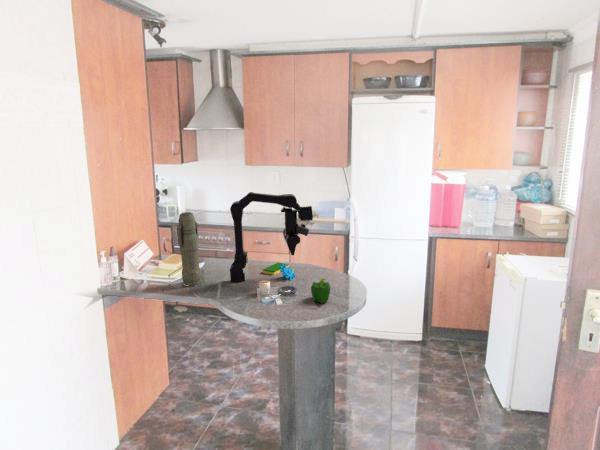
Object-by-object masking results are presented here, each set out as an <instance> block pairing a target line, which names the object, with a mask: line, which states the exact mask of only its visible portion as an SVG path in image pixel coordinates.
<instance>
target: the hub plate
mask: <svg viewBox="0 0 600 450" xmlns="http://www.w3.org/2000/svg"><path fill="white" fill-rule="evenodd" d="M288 290H291V291H290V292H285V291H288ZM256 294H257V295H256V297H257V301H259V300H260V301H261V300H262V301H263V300H264V299H263V298H265V297H271V296H273V295H279V294H281V295H280V296H279V297H277V298H272V299H287V298H288V299H289V298H298V297H300V294H299V292H298V288H297V286H296V285H282V286H270V294H269V295H260V291H259V287H257V288H256ZM272 299H271V300H272Z"/></svg>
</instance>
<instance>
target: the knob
mask: <svg viewBox="0 0 600 450" xmlns="http://www.w3.org/2000/svg"><path fill="white" fill-rule="evenodd" d="M270 287H271V282H270V280H260V281H259V282H258V288H259V291H260V295H269V294H270Z"/></svg>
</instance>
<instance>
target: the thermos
mask: <svg viewBox="0 0 600 450" xmlns="http://www.w3.org/2000/svg"><path fill="white" fill-rule="evenodd" d="M194 215H195V214H194V213H193V212H191V211H190V212H189V211H188V212H187V211H185V212H181V213H180V214H179V217H178V224H177V227H176V233H177V244H178V246H179V251H180V255H181V265H182V269H181V279H182V284H183V283H184V284H185V285H189V286H192V287H196V286H195V285H197V286H199V284H200V285H201V284H202V280H201V279H202V273H201V270H202V269H201V268H200V259H199V228H198V227H199V226H198V222H197V221H196V218H195V216H194Z"/></svg>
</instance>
